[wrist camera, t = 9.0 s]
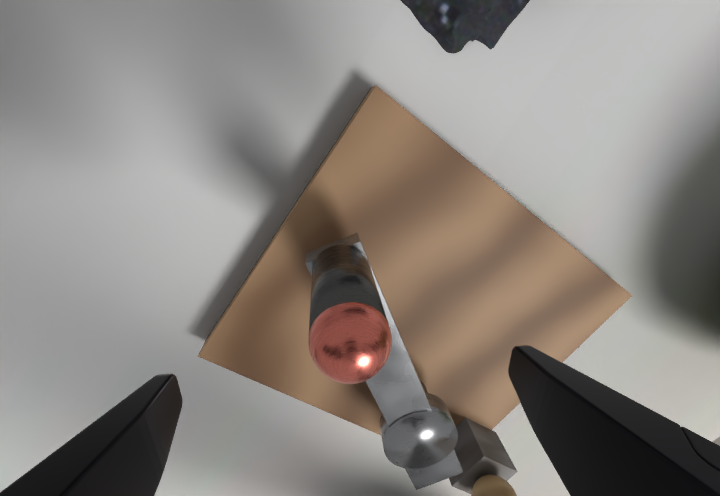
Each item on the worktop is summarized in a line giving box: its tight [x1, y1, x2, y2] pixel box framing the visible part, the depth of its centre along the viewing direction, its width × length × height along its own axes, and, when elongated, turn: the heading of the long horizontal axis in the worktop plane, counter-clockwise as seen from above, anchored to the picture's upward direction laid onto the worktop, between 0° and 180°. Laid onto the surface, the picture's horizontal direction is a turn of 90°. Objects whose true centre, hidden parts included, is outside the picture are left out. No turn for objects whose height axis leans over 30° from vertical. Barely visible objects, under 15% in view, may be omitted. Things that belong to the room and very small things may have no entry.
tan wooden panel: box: [198, 86, 632, 496], centre depth 19 cm, size 22×18×7 cm
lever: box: [305, 233, 463, 490], centre depth 16 cm, size 18×4×8 cm, turn 21°
